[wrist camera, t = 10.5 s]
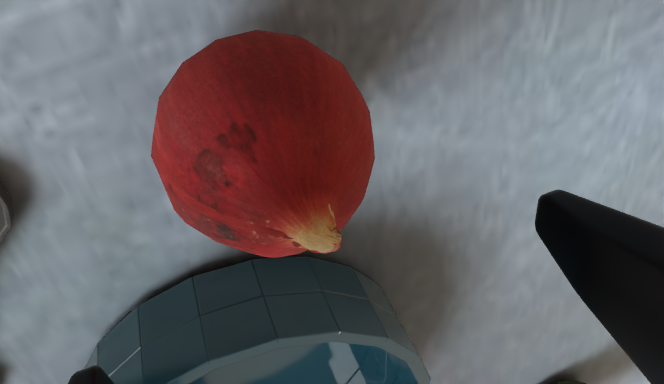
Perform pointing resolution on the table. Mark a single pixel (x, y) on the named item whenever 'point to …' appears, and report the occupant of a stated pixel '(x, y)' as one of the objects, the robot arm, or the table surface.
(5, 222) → the throwing knife
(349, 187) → the onion
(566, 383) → the character mug
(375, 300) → the bowl
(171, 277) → the table surface
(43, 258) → the table surface
